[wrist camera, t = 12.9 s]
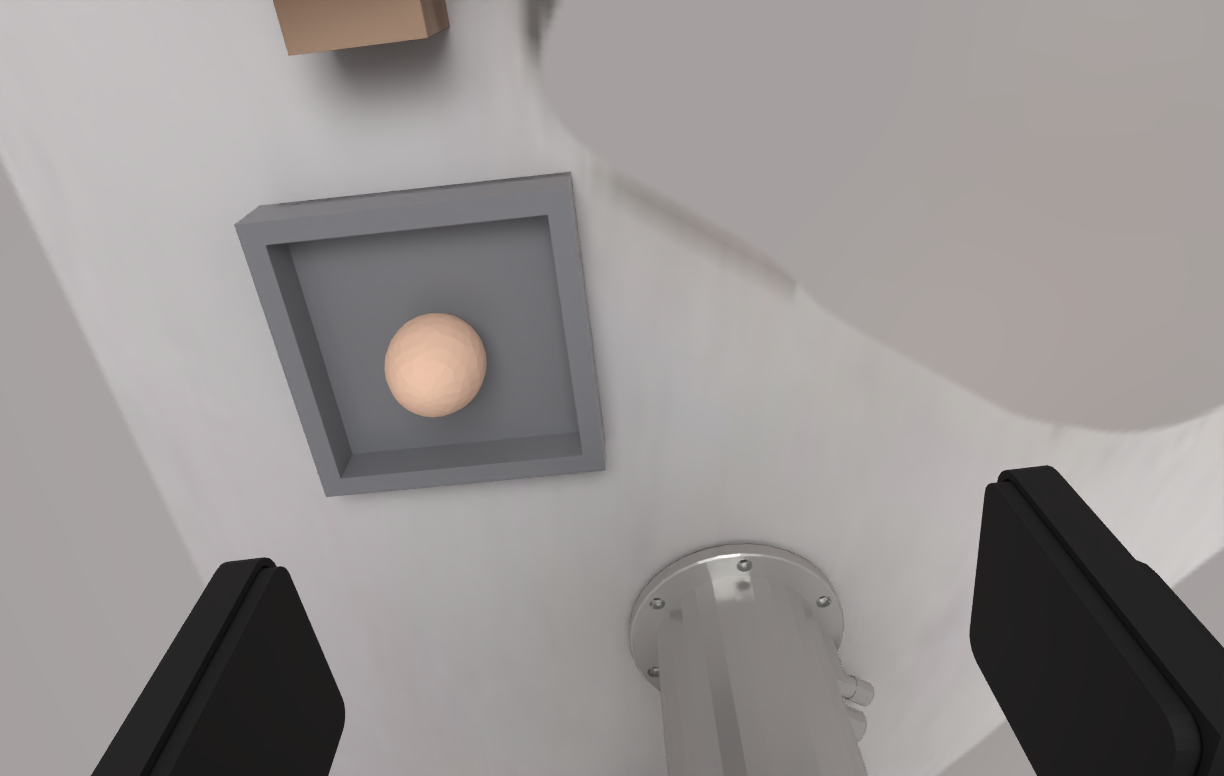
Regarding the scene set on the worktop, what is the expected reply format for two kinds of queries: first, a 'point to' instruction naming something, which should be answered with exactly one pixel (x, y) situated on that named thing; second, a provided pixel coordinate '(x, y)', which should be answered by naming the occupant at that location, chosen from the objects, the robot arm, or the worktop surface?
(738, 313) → the worktop surface
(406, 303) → the dish
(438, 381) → the egg
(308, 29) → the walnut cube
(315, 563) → the worktop surface
